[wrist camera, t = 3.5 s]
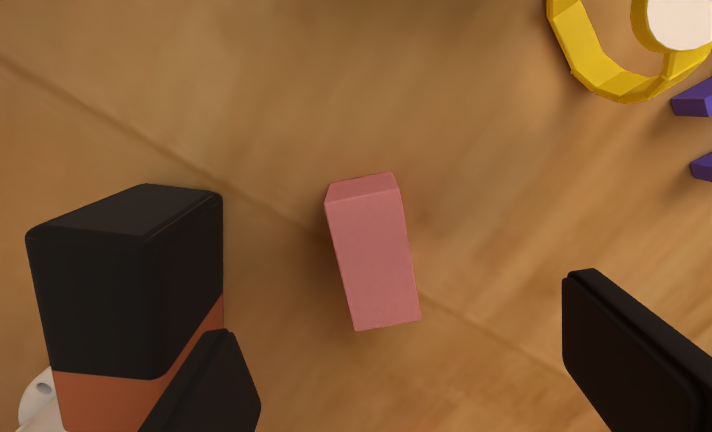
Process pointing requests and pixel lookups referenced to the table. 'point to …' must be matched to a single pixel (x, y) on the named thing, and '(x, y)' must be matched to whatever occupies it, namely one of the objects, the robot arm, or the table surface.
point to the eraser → (373, 251)
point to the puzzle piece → (700, 103)
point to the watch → (652, 29)
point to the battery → (126, 298)
